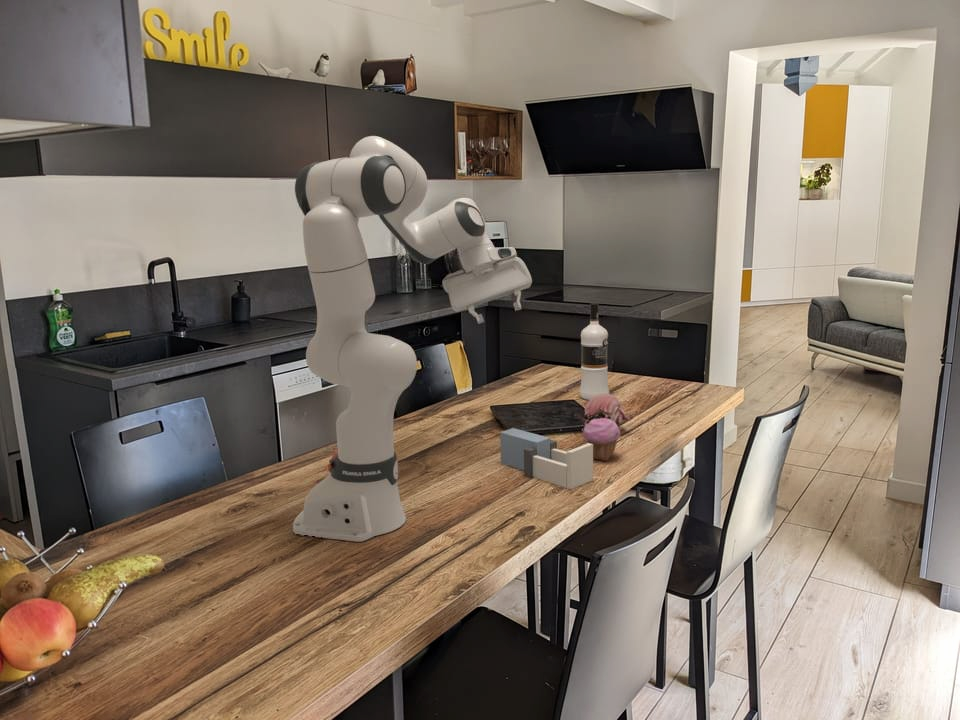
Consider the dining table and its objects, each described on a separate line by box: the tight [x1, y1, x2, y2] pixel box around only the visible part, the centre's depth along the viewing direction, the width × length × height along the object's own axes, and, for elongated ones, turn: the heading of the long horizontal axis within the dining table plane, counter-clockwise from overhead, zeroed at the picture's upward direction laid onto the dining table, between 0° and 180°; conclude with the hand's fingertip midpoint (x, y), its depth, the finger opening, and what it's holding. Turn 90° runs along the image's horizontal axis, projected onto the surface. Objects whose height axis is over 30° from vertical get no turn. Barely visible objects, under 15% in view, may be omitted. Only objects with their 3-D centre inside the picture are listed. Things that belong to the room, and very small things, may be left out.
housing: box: [523, 439, 594, 490], centre depth 179 cm, size 13×9×8 cm
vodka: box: [579, 302, 610, 401], centre depth 244 cm, size 9×9×30 cm
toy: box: [581, 393, 632, 427], centre depth 210 cm, size 12×11×15 cm
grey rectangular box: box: [499, 427, 551, 471], centre depth 186 cm, size 12×4×8 cm, turn 44°
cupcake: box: [582, 418, 621, 462], centre depth 191 cm, size 9×9×10 cm
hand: (499, 315), depth 185 cm, fingers open, 8 cm apart
